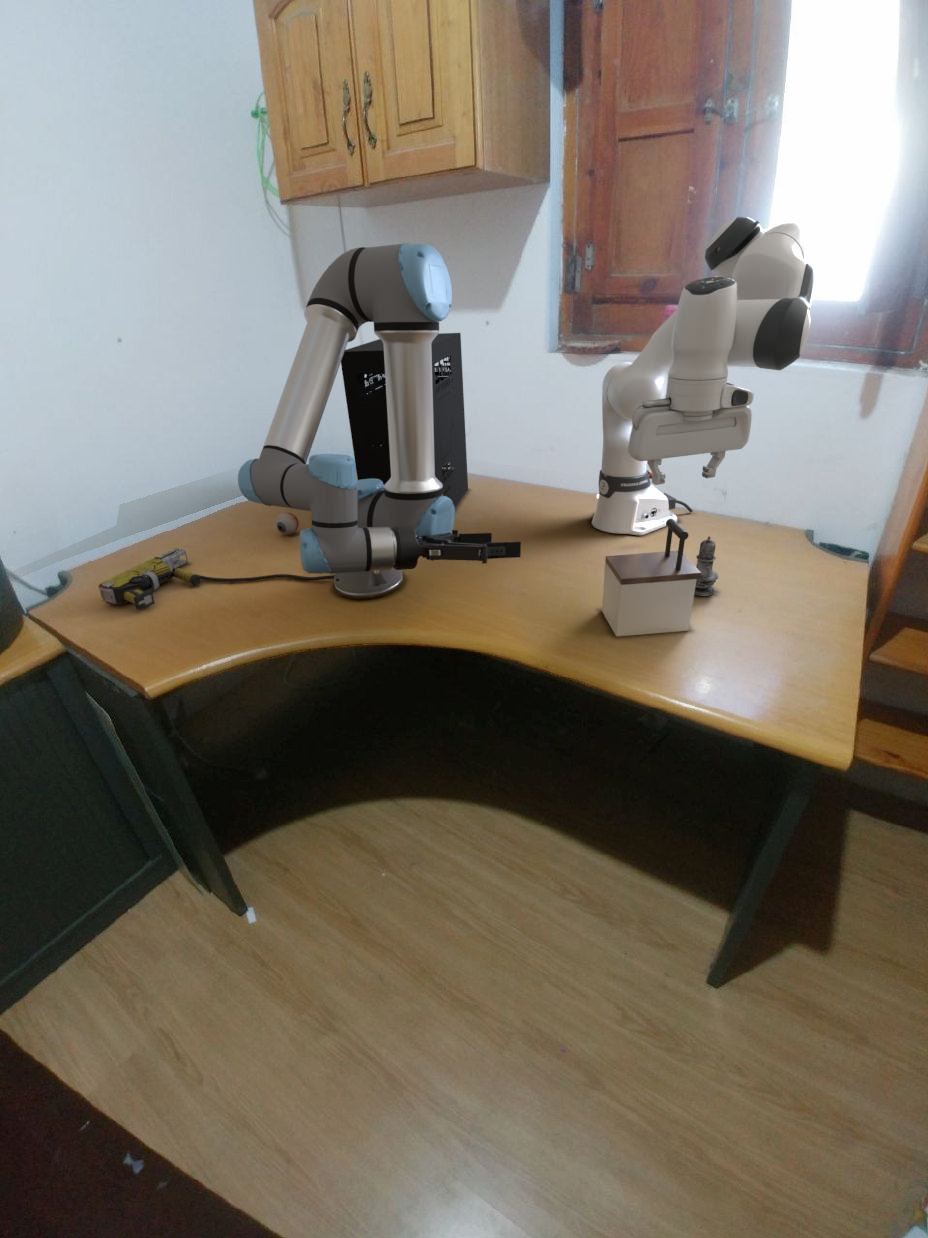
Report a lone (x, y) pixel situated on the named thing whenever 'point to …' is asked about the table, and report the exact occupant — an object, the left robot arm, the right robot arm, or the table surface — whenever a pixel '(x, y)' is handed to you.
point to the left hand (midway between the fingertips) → (504, 544)
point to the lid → (655, 562)
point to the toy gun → (146, 580)
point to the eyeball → (287, 523)
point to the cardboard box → (373, 417)
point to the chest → (647, 605)
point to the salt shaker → (706, 568)
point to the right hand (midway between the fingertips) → (683, 480)
